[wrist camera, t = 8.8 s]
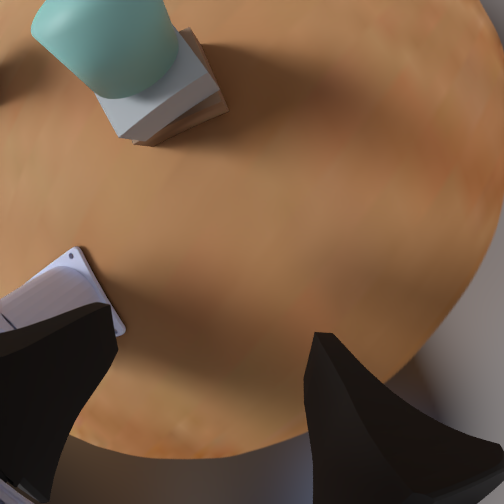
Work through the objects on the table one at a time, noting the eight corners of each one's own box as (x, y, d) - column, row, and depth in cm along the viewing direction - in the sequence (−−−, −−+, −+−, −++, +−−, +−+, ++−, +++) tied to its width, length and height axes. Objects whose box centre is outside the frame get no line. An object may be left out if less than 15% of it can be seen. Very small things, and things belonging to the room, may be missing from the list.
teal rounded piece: (82, 109, 10) (15, 60, 5) (98, 38, 10) (54, -17, 5) (175, 87, 10) (134, 7, 5) (181, 17, 10) (157, -57, 5)
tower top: (145, 141, 14) (118, 137, 11) (110, 81, 13) (82, 69, 10) (220, 89, 13) (207, 72, 10) (177, 30, 12) (159, 8, 9)
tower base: (153, 146, 17) (133, 144, 14) (130, 81, 16) (108, 70, 13) (229, 111, 16) (221, 101, 13) (201, 45, 15) (189, 26, 12)
